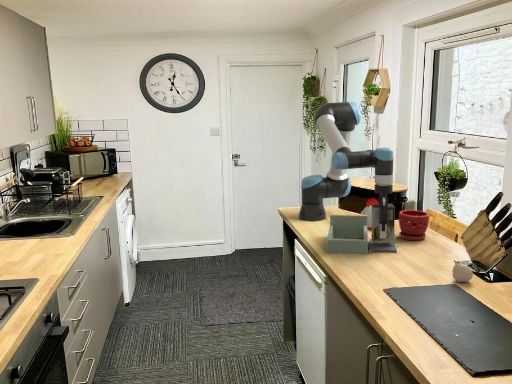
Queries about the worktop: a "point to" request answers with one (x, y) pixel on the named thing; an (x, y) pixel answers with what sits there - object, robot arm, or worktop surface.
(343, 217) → the green drawer
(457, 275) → the garlic bulb
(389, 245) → the rubber mat
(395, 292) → the worktop surface
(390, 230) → the coffee box
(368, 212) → the kitchen timer
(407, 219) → the plant pot
